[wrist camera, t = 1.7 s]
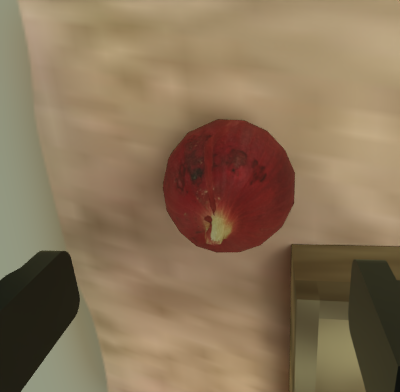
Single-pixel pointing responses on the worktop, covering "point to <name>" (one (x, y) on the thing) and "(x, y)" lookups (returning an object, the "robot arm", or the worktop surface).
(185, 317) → the worktop surface
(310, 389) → the tray
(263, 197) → the onion
